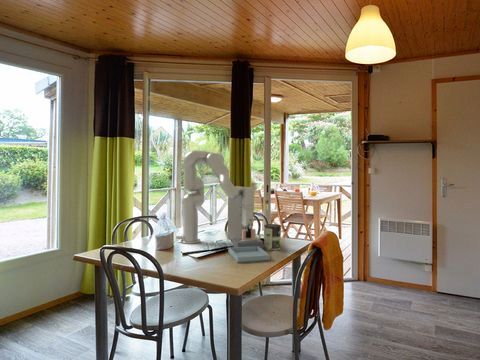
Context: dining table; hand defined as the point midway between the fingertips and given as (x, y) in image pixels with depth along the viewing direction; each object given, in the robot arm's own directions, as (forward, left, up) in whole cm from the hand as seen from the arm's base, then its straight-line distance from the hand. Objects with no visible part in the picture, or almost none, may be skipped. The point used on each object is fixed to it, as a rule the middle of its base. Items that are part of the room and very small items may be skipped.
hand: (247, 236), depth 205 cm
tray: (-5, -18, -7) cm, 20 cm away
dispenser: (0, 0, -7) cm, 7 cm away
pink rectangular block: (+1, 0, -5) cm, 6 cm away
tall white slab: (+1, +24, -7) cm, 25 cm away
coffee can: (+15, -3, -7) cm, 17 cm away
